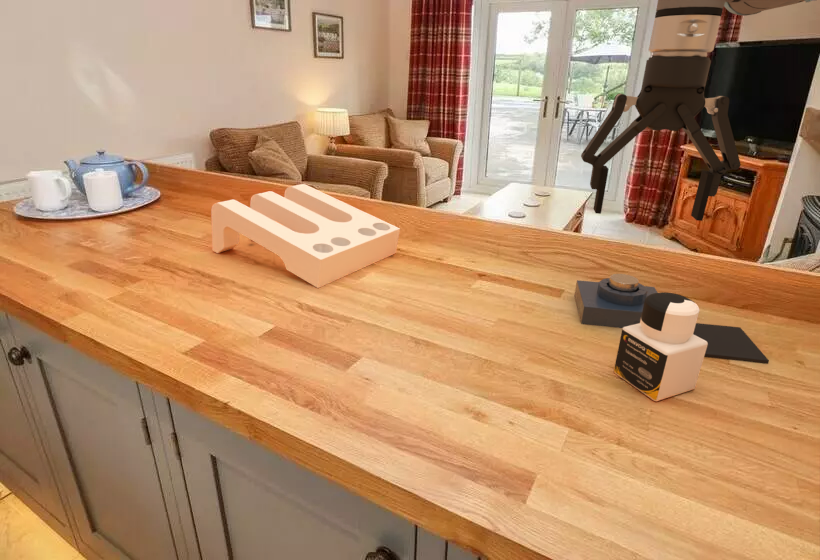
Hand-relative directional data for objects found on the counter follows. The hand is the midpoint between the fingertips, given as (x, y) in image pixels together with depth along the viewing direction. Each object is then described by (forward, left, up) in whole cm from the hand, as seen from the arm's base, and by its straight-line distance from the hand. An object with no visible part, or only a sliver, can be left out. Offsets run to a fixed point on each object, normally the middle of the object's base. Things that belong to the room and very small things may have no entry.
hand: (645, 214), depth 72 cm
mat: (-13, +3, -18) cm, 23 cm away
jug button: (0, -4, -14) cm, 14 cm away
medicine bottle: (-1, +16, -18) cm, 24 cm away
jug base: (0, -4, -18) cm, 19 cm away
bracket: (+62, -20, -18) cm, 68 cm away
